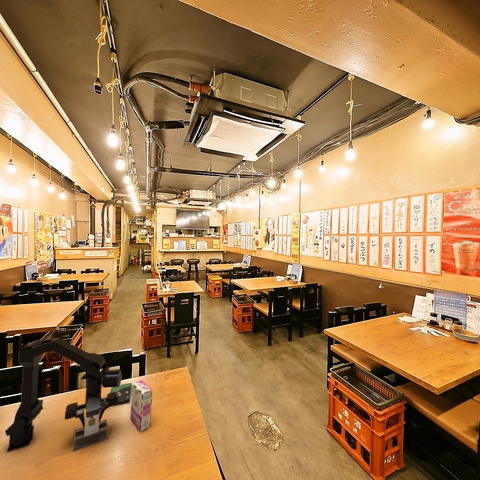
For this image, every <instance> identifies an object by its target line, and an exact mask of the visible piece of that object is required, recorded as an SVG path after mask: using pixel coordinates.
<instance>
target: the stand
mask: <svg viewBox="0 0 480 480" xmlns="http://www.w3.org/2000/svg"><path fill="white" fill-rule="evenodd" d="M108 429H109V428H108V419H103V420H100V423H99V431H98V432H97V433H94V434H91V435H88V436H85V437H84V428H83V426H82V427H79V428H75V429H74V432H73V433H74V434H73V435H74V436H73V445H72V452H73V453H74V452H77V451H80V450H83V449H84V448H88V447H90V446H93V445H95V444H98V443H100V442H103V441H106V440H108V439H109V430H108Z"/></svg>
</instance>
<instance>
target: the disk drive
mask: <svg viewBox="0 0 480 480" xmlns="http://www.w3.org/2000/svg"><path fill="white" fill-rule="evenodd" d="M132 384H133V383H132V382H129V383H122V384H120V386H119V387H110V392H109V393H112V392H117V394H118V404H117V405H113V406H109V408H112V407H116V406H122V405H127V404H131V402H130V401H131V396H132Z"/></svg>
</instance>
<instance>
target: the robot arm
mask: <svg viewBox="0 0 480 480" xmlns="http://www.w3.org/2000/svg"><path fill="white" fill-rule="evenodd" d="M63 339H64V338H62V337H55V338H47V339H44V340H39V339H36V340H34V341H32V342H30V343H29V344H26V345H25V346H23V347H21V348H20V350H18V352H17V356H18V364H20V365H21V367H22V379H21V381H22V382H21V392H20V393H21V394H20V395H21V396H20V405H19V406H18V409H17V410H16V413H15V415H14V418H13V423H12V424H11V425H9V427H7V429H6V430H5V431H4V432H5V435H6V436H7V437H8V439H9V443H8V447H7V449H6V451H7V453H9V452H12V451H14V450H17V449H21V448H24V447H26V446H29V445H30V444H31V440H33V438H34V433H35V425H34V424H33V421H34V420H35V419H37V417H38V416H39V415H40V413H41V411H43V409H44V407H43V405H44V404H43V403H44V399H39V397H38V385H39V370H40V367H39V366H40V361H41V360H42V358H43V356H44V354H46V353H49V352H53V353H55V354H58V355H60V356H61V357H64V358H65V359H68V360H70V361H71V362H74V363H75V364H77V365H79V367H80V369H81V370H82V371H83V372H84V374H83V375H82V376H81V378H80V379H81V380H86V385H85V399H84V403H82V404H79V402H78V401H77V402H73V403H68V404H67V405H66V406H65V412H64V420H70V419H74V418H75V419H79V420H80V422H81V425H82V427H83V428H85V417H87V418H89V417H91V416H94V415H98V414H99V423H100V421H102V417H103V415H104V413H105V411H106V410H108V409H110V407H109V406H112V407H114V406H113V405H117V404H118V394H117V392H112V393H110V392H109V393H107V395H106V396H104V397H102V388H104V389H105V388H106V389H107V388H112V387H119V386H120V385H121V383H122V378H123V374H122V371H121V369H120V368H116V369H110V368H111V367H110V365H109V364H108V363H107V361H106V359H105V356H104V355H102V354H99V353H95V352H88V351H85V350H83V349H81V348H79V347H77V346H75V345H74V344H71V343H70V342H68V341H65V340H63ZM117 406H118V405H117Z"/></svg>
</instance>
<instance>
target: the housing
mask: <svg viewBox="0 0 480 480" xmlns="http://www.w3.org/2000/svg"><path fill="white" fill-rule="evenodd" d="M98 431H99V414H98V415H94V416H91V417H89V418H87V417H86V416H85V428H84V437H85V436H88V435H91V434H94V433H97V432H98Z"/></svg>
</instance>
